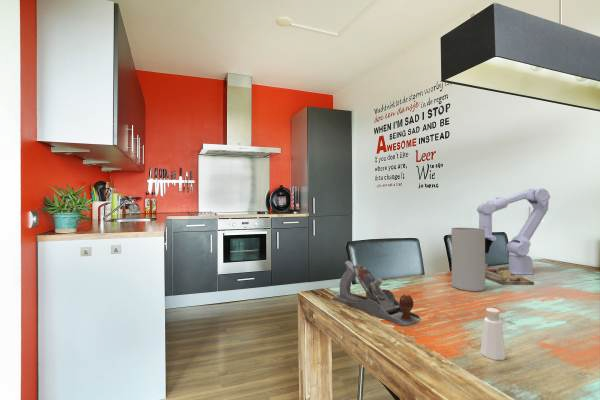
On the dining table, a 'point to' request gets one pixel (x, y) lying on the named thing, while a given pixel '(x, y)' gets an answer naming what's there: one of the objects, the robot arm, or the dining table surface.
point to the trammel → (494, 273)
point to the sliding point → (508, 274)
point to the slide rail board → (511, 280)
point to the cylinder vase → (468, 259)
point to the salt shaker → (493, 336)
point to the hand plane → (375, 297)
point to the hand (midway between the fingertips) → (485, 253)
